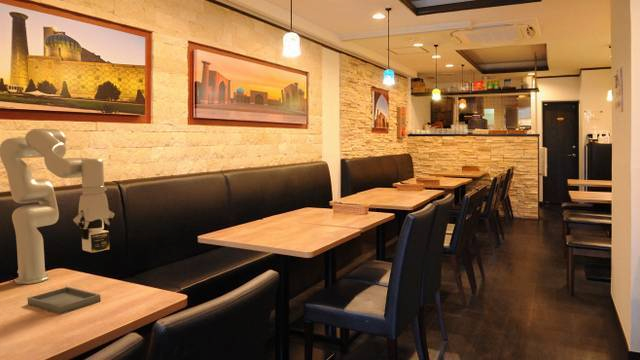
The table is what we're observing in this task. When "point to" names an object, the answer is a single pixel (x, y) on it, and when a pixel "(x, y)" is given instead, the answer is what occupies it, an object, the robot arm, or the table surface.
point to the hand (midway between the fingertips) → (95, 236)
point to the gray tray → (63, 300)
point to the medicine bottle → (96, 237)
